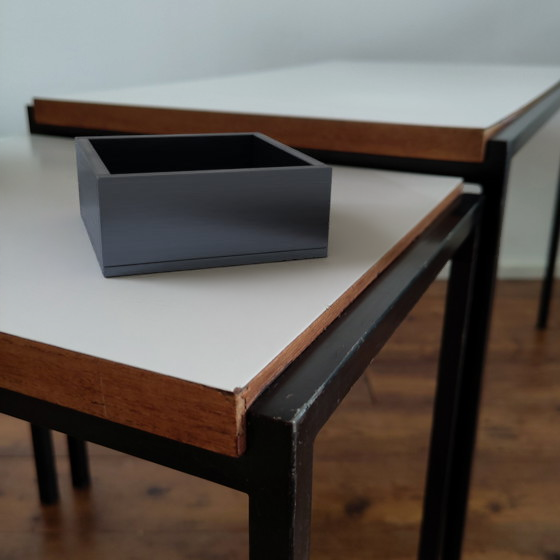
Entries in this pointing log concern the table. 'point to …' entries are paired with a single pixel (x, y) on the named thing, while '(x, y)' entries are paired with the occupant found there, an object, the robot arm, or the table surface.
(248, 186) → the dark grey storage bin
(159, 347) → the table surface
